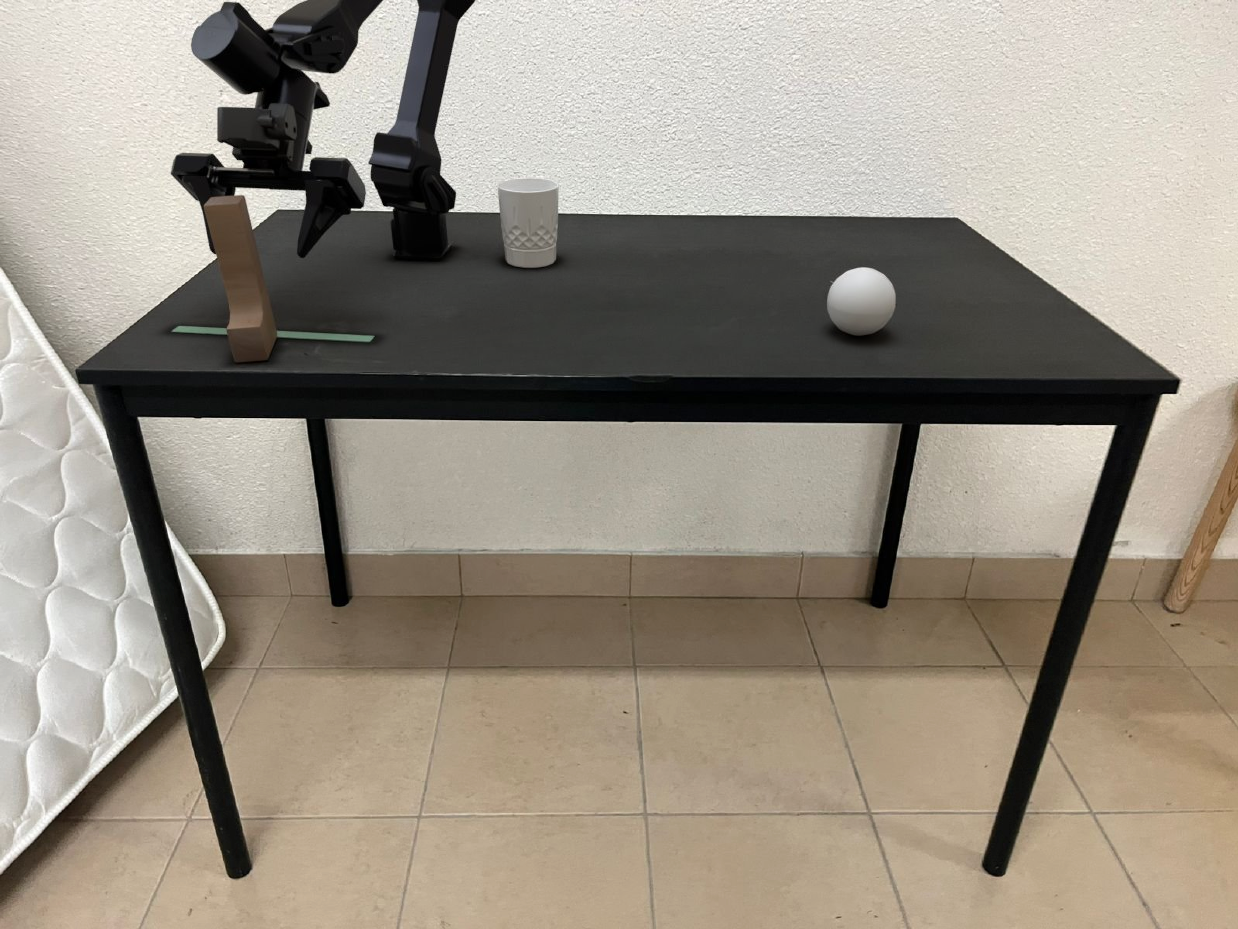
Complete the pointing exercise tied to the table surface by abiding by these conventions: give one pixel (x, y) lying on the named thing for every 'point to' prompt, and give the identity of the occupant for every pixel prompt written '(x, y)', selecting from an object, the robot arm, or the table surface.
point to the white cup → (529, 220)
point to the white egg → (861, 301)
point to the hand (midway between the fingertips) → (257, 254)
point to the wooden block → (241, 279)
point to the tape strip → (280, 334)
